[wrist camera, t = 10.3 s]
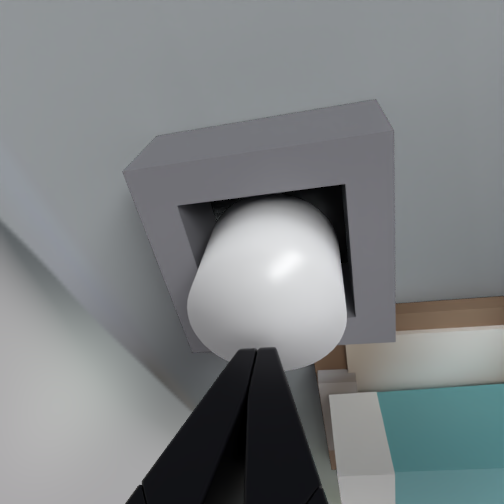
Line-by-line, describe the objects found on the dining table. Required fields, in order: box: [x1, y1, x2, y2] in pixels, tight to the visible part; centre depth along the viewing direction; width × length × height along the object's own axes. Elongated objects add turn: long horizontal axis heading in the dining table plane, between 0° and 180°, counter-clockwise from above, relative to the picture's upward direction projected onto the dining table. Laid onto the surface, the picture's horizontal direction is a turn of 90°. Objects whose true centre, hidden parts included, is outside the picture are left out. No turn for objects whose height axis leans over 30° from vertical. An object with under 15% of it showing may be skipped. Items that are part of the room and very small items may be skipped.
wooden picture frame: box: [314, 296, 504, 470], centre depth 18 cm, size 15×11×1 cm
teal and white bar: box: [329, 384, 504, 504], centre depth 16 cm, size 12×4×4 cm, turn 101°
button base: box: [122, 99, 396, 353], centre depth 13 cm, size 7×7×3 cm
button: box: [187, 193, 347, 371], centre depth 11 cm, size 4×4×3 cm
